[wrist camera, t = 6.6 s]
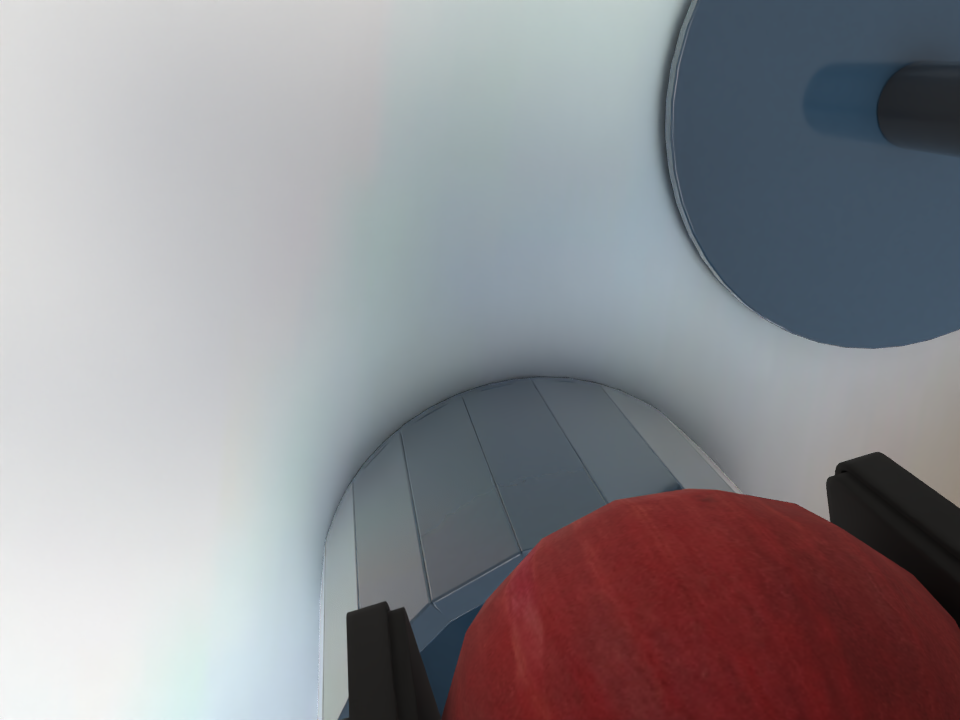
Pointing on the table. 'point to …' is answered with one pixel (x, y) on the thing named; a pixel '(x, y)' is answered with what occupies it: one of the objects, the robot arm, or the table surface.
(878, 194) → the lid
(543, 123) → the table surface
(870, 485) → the robot arm
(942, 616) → the pomegranate
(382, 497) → the pot
